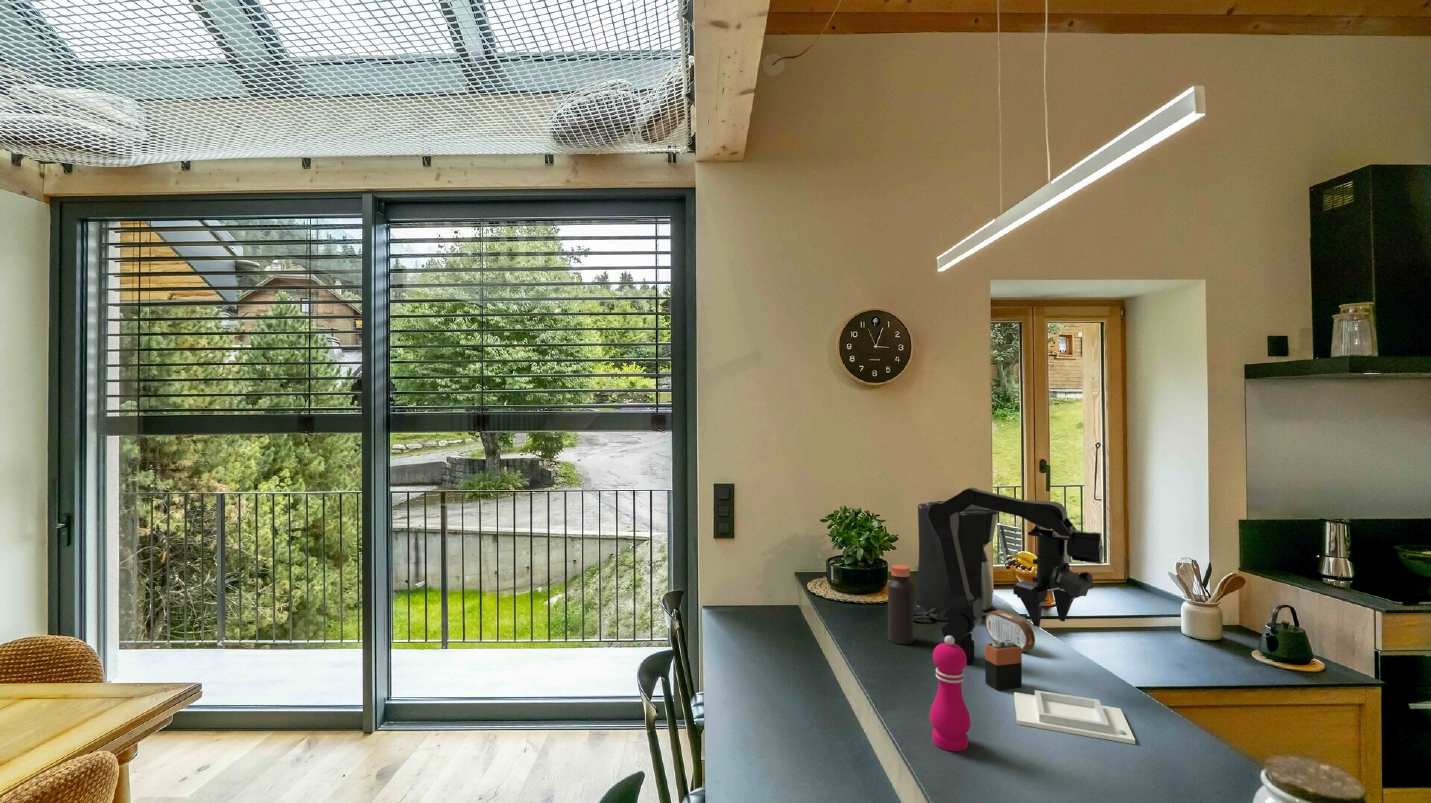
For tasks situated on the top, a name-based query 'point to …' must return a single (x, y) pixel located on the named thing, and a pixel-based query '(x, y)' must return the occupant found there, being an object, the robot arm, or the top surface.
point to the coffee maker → (972, 540)
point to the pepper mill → (949, 698)
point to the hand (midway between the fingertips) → (1049, 623)
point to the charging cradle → (1072, 716)
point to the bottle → (900, 606)
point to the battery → (1003, 665)
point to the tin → (1010, 629)
